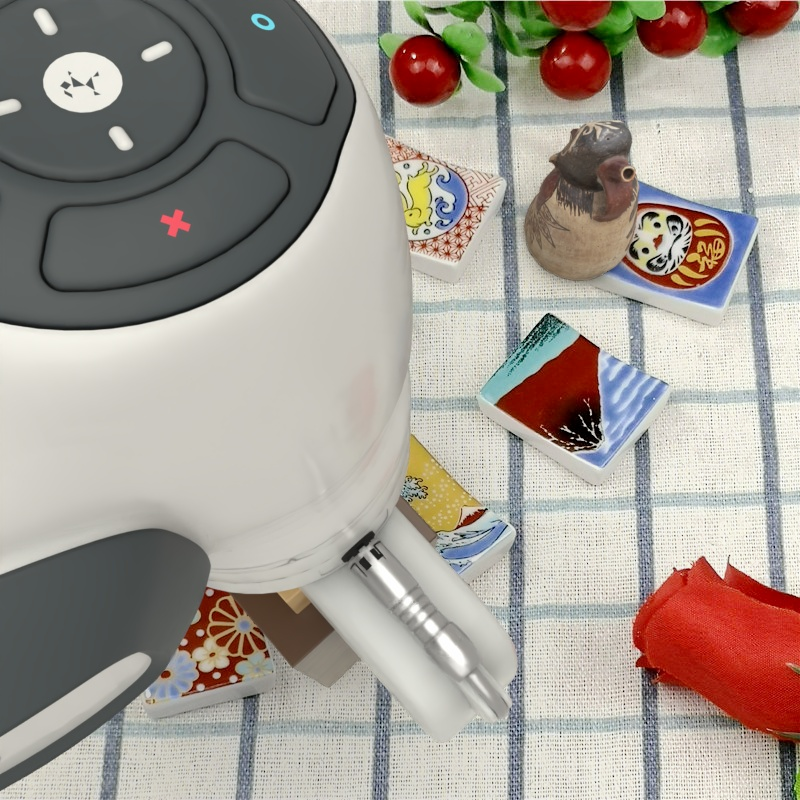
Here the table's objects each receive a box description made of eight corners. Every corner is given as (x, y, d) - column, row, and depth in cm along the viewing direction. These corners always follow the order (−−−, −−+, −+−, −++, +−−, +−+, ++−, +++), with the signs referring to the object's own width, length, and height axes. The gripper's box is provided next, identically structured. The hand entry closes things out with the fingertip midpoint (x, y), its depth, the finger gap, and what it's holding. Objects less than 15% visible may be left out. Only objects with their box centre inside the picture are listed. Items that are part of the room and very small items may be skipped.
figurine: (609, 179, 70) (649, 71, 59) (643, 269, 68) (691, 175, 56) (511, 203, 69) (532, 99, 58) (542, 294, 67) (570, 205, 56)
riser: (328, 688, 59) (292, 668, 40) (242, 587, 61) (169, 522, 42) (428, 596, 61) (438, 535, 42) (340, 500, 63) (313, 400, 44)
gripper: (599, 631, 26) (534, 664, 40) (123, 132, 31) (206, 309, 44) (422, 805, 25) (416, 779, 38) (-46, 256, 30) (91, 401, 43)
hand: (300, 524), depth 41 cm, fingers closed on wood block, 5 cm apart
